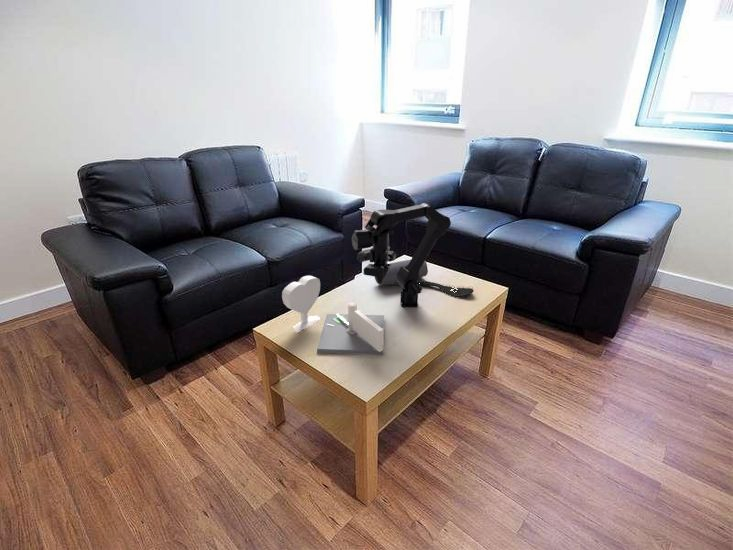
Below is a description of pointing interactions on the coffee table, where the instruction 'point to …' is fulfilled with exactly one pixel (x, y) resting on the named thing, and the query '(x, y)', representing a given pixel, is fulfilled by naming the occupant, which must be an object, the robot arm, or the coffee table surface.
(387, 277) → the bluetooth speaker
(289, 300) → the heart sculpture
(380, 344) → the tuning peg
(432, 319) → the coffee table surface
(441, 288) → the hairbrush
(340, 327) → the grey flat panel
